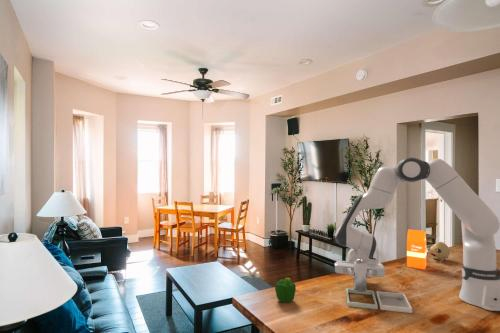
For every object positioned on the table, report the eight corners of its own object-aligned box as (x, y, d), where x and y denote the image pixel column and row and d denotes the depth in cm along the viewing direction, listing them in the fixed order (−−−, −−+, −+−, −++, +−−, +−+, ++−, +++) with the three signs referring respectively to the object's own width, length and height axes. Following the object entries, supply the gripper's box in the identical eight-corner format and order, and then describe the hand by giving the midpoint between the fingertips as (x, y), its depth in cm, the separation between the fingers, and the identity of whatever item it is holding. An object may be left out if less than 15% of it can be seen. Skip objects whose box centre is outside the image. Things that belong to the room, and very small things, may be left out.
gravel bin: (404, 300, 129) (404, 293, 129) (412, 316, 115) (412, 308, 115) (376, 298, 132) (375, 291, 132) (380, 313, 118) (380, 305, 118)
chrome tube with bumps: (366, 287, 129) (366, 258, 129) (367, 292, 124) (367, 262, 124) (353, 286, 130) (353, 257, 130) (354, 290, 125) (354, 261, 125)
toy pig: (424, 259, 185) (423, 241, 185) (436, 256, 190) (436, 239, 190) (440, 263, 176) (440, 245, 176) (453, 260, 181) (453, 242, 181)
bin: (373, 297, 132) (373, 290, 132) (377, 313, 119) (377, 305, 119) (346, 295, 135) (346, 288, 135) (347, 309, 122) (347, 302, 122)
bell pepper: (271, 298, 132) (271, 275, 132) (288, 295, 136) (288, 272, 136) (281, 306, 125) (281, 281, 125) (299, 302, 128) (298, 278, 128)
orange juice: (409, 262, 178) (408, 228, 178) (426, 265, 173) (426, 229, 173) (406, 266, 172) (406, 230, 172) (424, 269, 167) (424, 232, 167)
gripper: (334, 255, 142) (334, 265, 129) (382, 259, 137) (387, 269, 123) (334, 269, 142) (334, 280, 129) (382, 273, 137) (387, 285, 123)
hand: (360, 275), depth 126 cm, fingers closed on chrome tube with bumps, 5 cm apart
